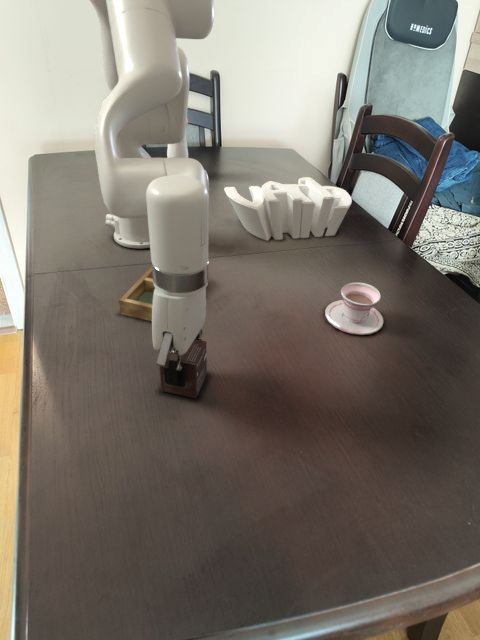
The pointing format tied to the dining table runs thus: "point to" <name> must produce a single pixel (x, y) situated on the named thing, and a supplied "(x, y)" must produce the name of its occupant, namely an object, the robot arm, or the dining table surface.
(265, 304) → the dining table surface
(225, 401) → the dining table surface
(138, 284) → the wooden tray
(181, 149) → the pepper shaker
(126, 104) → the robot arm
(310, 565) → the dining table surface
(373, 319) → the teacup
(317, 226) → the wavy white extrusion
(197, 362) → the box
